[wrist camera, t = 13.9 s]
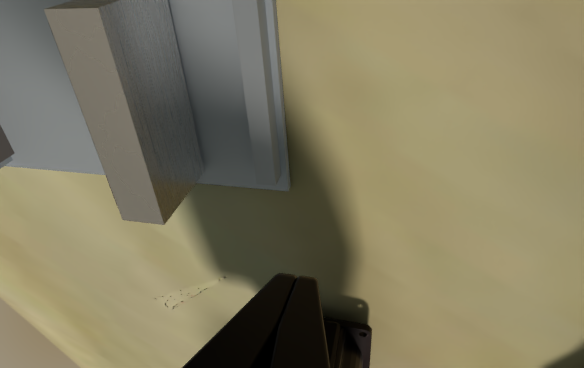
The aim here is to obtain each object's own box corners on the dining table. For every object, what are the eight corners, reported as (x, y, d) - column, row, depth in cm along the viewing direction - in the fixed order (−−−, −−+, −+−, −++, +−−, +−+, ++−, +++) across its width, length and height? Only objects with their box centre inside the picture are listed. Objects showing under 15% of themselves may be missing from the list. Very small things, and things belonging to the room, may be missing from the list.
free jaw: (204, 171, 22) (164, 224, 18) (162, 168, 22) (115, 219, 19) (164, -16, 17) (97, 8, 13) (110, -14, 17) (33, 9, 14)
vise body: (290, 186, 22) (269, 235, 19) (-23, 159, 27) (-82, 194, 24) (271, -52, 16) (235, -38, 13) (-130, -30, 21) (-230, -17, 18)
